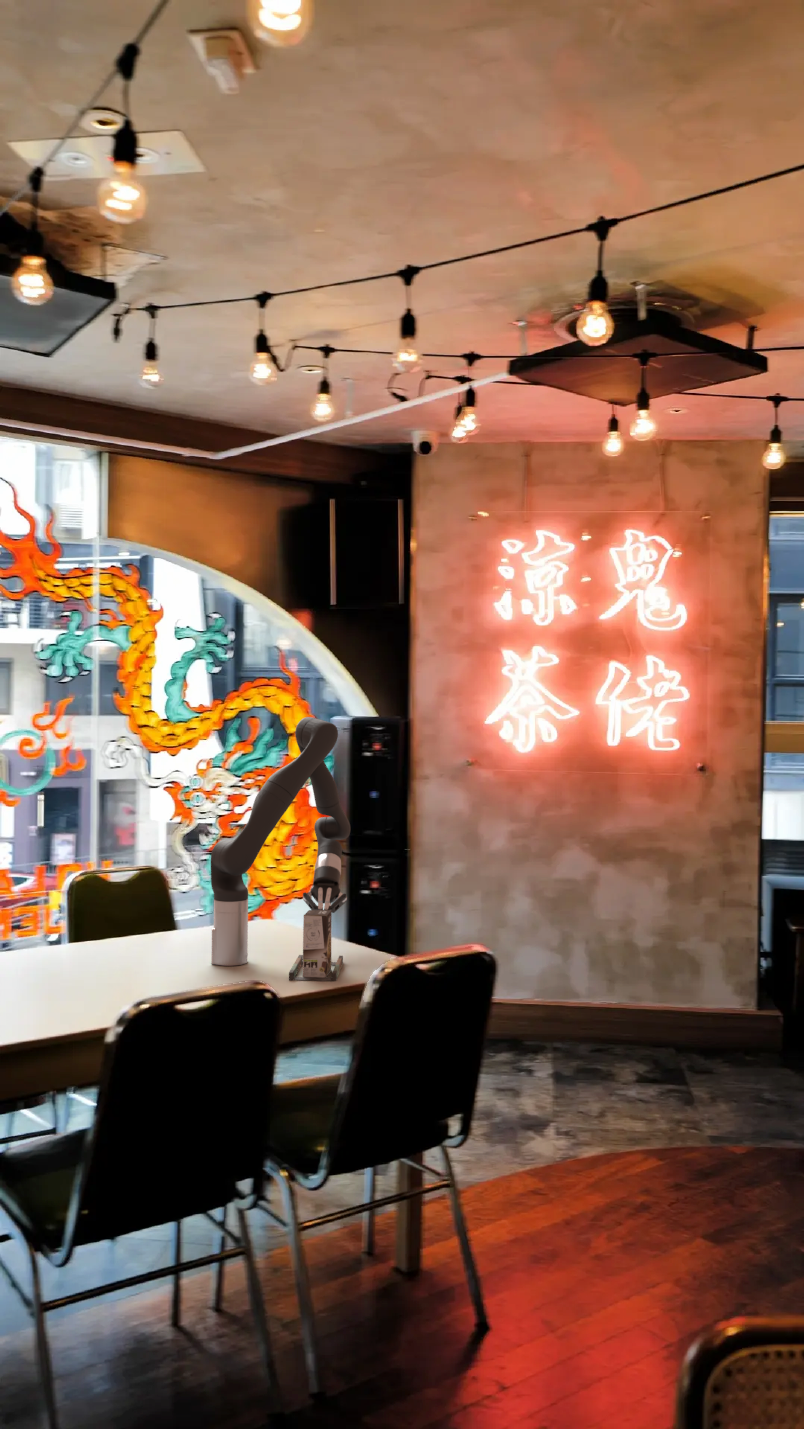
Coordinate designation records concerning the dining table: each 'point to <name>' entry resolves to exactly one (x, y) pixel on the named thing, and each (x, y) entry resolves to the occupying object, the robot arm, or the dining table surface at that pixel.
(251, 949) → the dining table surface
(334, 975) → the lane frame
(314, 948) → the coffee box
